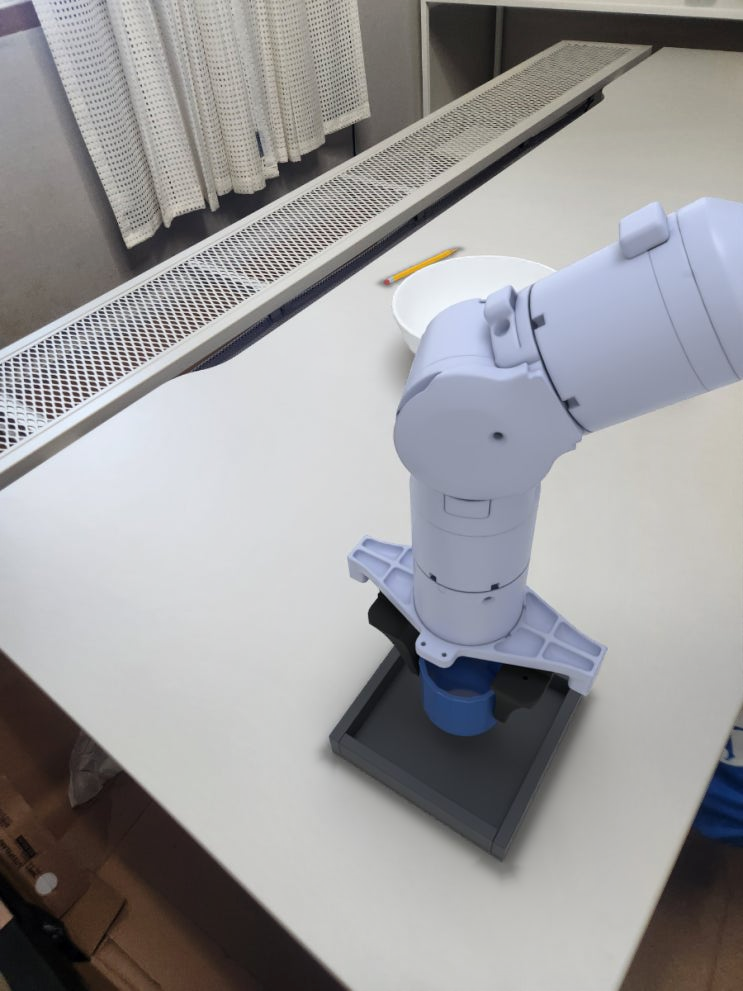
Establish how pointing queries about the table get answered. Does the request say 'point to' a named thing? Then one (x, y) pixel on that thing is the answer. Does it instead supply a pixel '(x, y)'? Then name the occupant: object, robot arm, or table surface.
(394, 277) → the pencil
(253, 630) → the table surface
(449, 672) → the small cup
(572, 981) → the table surface
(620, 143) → the table surface
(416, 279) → the bowl
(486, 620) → the robot arm
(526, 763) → the tray
